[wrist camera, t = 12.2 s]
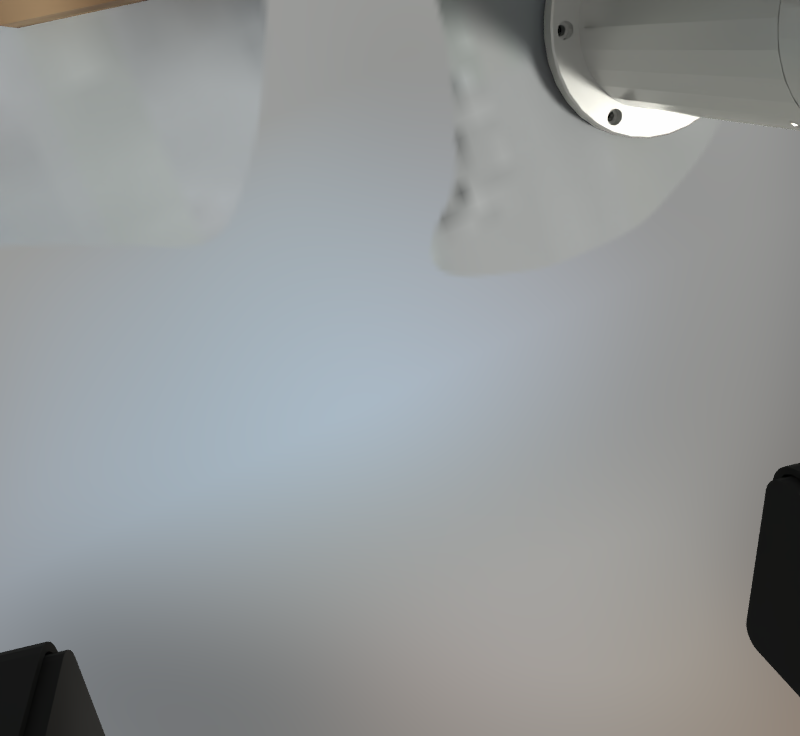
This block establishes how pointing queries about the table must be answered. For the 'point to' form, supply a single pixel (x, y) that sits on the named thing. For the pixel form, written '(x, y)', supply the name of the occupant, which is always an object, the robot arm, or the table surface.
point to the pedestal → (50, 10)
